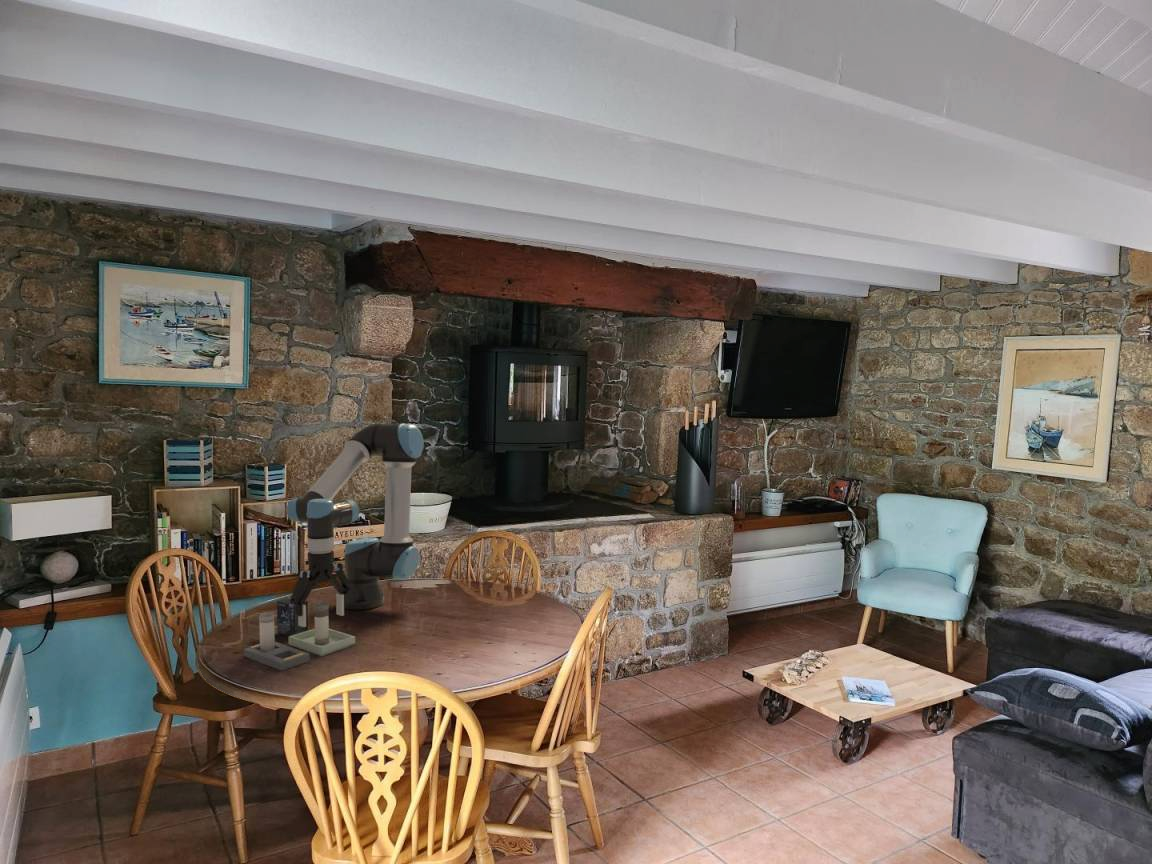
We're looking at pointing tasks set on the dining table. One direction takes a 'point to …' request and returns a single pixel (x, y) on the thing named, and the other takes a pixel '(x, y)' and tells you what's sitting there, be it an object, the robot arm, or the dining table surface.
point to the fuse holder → (278, 656)
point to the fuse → (267, 631)
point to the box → (289, 618)
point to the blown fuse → (321, 623)
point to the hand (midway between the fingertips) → (321, 620)
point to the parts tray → (308, 644)
